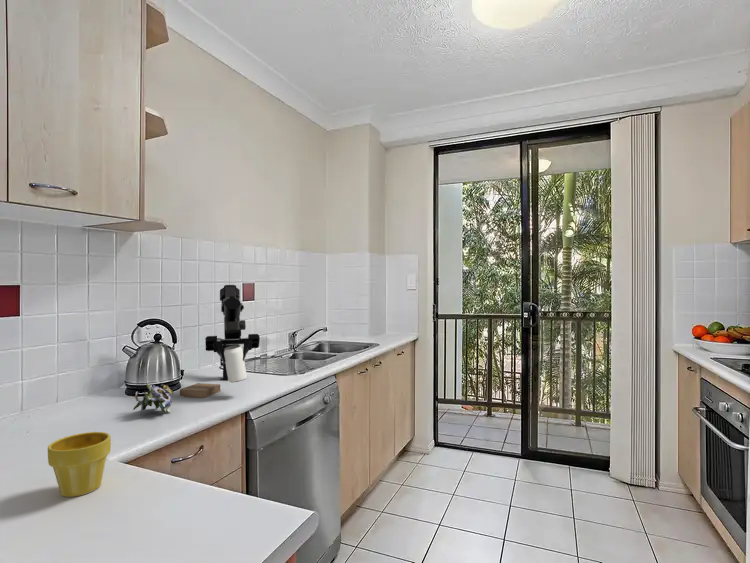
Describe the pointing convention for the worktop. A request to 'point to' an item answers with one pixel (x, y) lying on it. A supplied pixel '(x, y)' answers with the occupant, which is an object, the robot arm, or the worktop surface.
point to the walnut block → (200, 390)
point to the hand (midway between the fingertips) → (233, 361)
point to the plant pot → (79, 462)
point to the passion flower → (156, 398)
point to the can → (235, 363)
